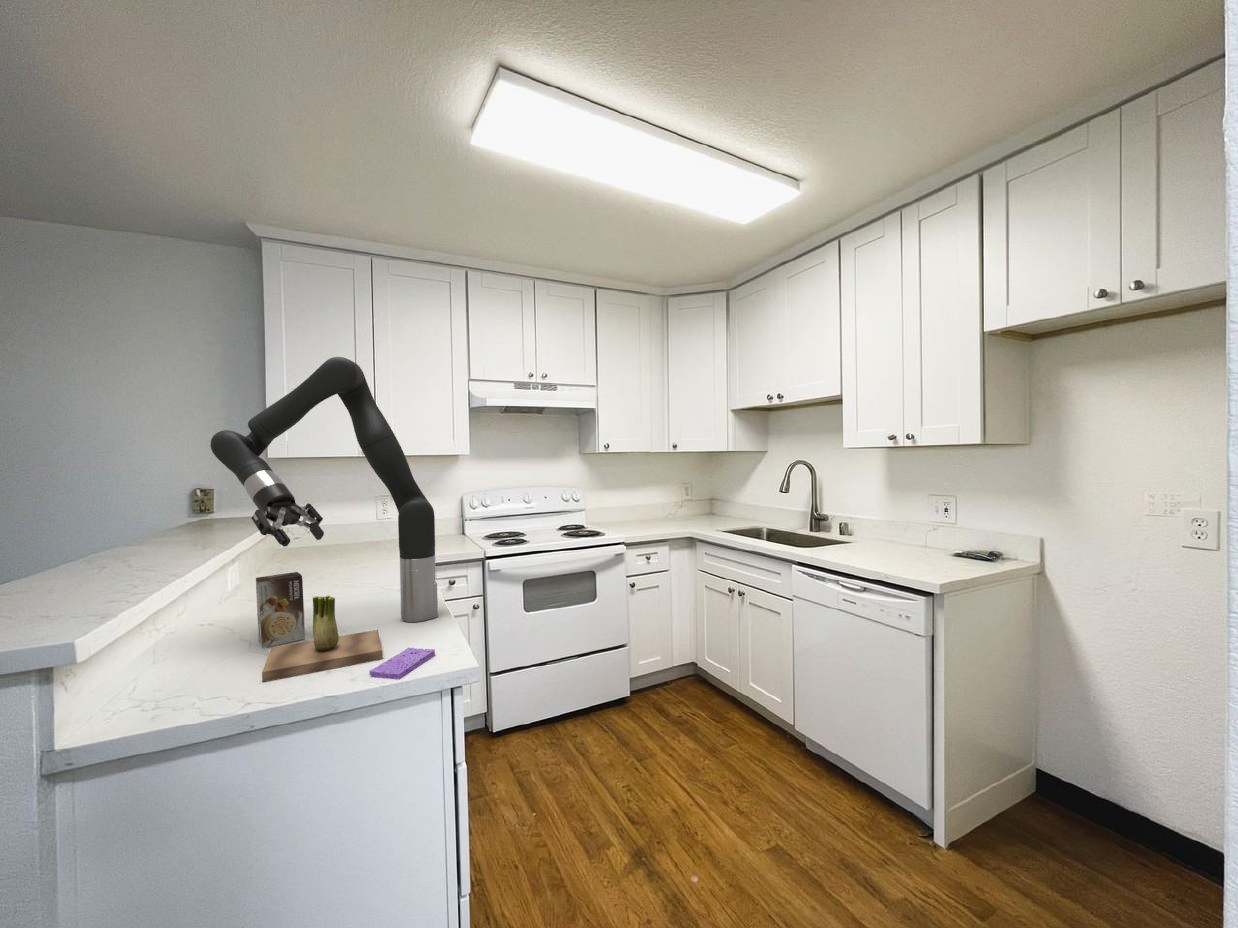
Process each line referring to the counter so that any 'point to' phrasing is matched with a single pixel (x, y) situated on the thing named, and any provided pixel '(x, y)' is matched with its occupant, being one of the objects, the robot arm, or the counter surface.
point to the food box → (280, 609)
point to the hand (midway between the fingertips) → (304, 540)
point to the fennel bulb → (324, 623)
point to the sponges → (402, 663)
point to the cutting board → (321, 655)
